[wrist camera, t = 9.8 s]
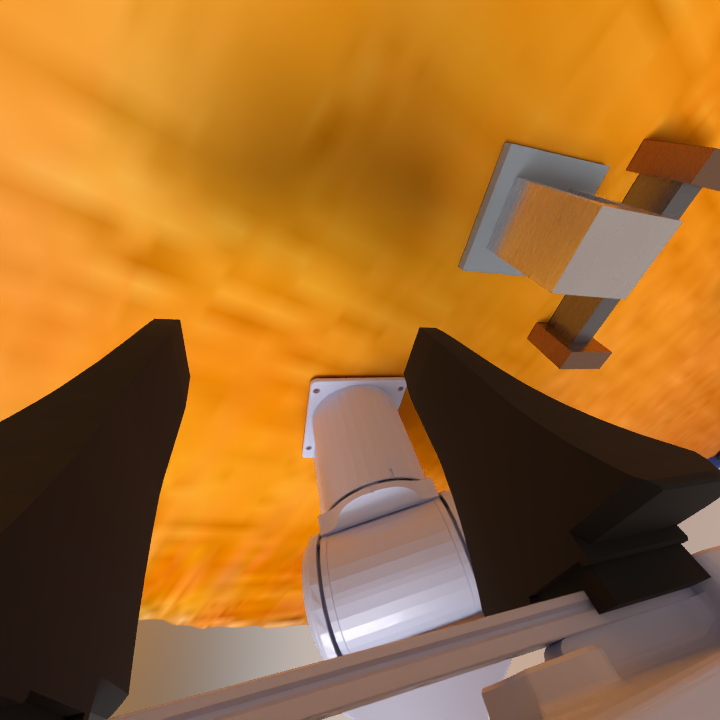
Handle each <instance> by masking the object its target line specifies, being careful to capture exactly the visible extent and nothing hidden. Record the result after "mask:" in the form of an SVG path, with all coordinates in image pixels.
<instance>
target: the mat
mask: <svg viewBox="0 0 720 720" xmlns="http://www.w3.org/2000/svg"><path fill="white" fill-rule="evenodd" d="M609 168H610V166H606V165H602V164H598V163H593V162H589V161H585V160H580V159H576V158H572V157H568V156H563V155H559V154H555V153H551V152H546V151H542V150H538V149H534V148H529V147H525V146H521V145H517V144H512V143H507V142H505V144H504V146H503V149H502V152H501V154H500V157H499V160H498V162H497V165H496V168H495V170H494V173H493V176H492V178H491V181H490V184H489V186H488V189H487V192H486V194H485V197H484V200H483V202H482V205H481V208H480V210H479V213H478V216H477V218H476V221H475V224H474V226H473V229H472V232H471V234H470V237H469V240H468V242H467V245H466V248H465V251H464V253H463V256H462V259H461V261H460V264H459V268H461V269H462V270H464V271H475V272H486V273H496V274H507V275H518V276H525V275H524V274H523V273H521V272H520V271H518V270H517V269H515V268H514V267H512V266H511V265H510V264H508V263H507V262H505V261H504V260H502V259H501V258H499V257H498V256H497V255H495V254H494V253H492V252H491V251H489V250H488V249H486V245H487V243H488V241H489V238H490V236H491V233H492V231H493V229H494V226H495V224H496V221H497V219H498V217H499V214H500V212H501V209H502V207H503V205H504V202H505V200H506V197H507V195H508V193H509V190H510V188H511V185H512V183H513V181H514V178H515V177H518V178H523V179H527V180H531V181H534V182H538V183H541V184H544V185H547V186H550V187H553V188H556V189H559V190H562V191H565V192H569V190H570V188H571V189H575V190H580V191H584V192H588V193H591V194H595V193H596V191H597V189H598V187H599V185H600V184H601V182H602V180H603V178H604V176H605V175H606V173H607V171H608V169H609Z"/></svg>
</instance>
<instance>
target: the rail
mask: <svg viewBox="0 0 720 720" xmlns="http://www.w3.org/2000/svg"><path fill="white" fill-rule="evenodd" d="M626 171H631V172H635V173H639V176H638V178H637V179H636V181H635V183H634V184H633V186H632V187H631V189H630V191H629V192H628V194H627V196H626V197H625V199H624V201H623V202H622V203H624V204H627V205H631V206H634V207H637V208H641V209H644V210H647V211H650V212H654V213H657V214H660V215H664V216H667V217H670V218H674V219H677V220H679V218H680V217H681V216H682V214H683V213H684V211H685V210H686V209H687V207H688V206H689V205H690V203H691V202H692V201H693V199H694V198H695V196H696V195H697V194H698V192H699V191H700V190H701V188H707V189H711V190H716V191H720V149H717V148H711V147H702V146H694V145H685V144H677V143H669V142H660V141H652V140H644V141H643V143H642V144H641V146H640V148H639V149H638V151H637V153H636V154H635V156H634V158H633V160H632V161H631V163H630V165H629V166H628V168H627V170H626ZM619 301H620V299H613V298H601V297H589V296H577V295H565V297H564V298H563V300H562V302H561V303H560V305H559V307H558V308H557V310H556V312H555V313H554V315H553V316H552V318H551V320H550V321H549V323H536V325H535V327H534V328H533V330H532V332H531V333H530V335H529V337H528V338H527V339H528V340H529V341H530V342H531V343H532V344H533V345H534V346H536V347H537V348H538V349H539V350H540V351H541V352H542V353H543V354H544V355H545V356H546V357H547V358H548V359H550V360H551V361H552V362H553V363H554V364H555V365H556V366H557V367H558V368H559V369H600V367H601V366H602V365H603V364H604V362H605V361H606V360H607V359H608V357H609V356H610V355H611V354H612V352H611V351H610V350H608V349H607V348H606V347H604V346H603V345H602V344H600V343H599V342H598V341H596V340H595V339H593V336H594V335H595V333H596V332H597V331H598V329H599V328H600V327H601V325H602V324H603V323H604V321H605V320H606V318H607V317H608V316H609V314H610V313H611V312H612V310H613V309H614V307H615V306H616V305H617V303H618V302H619Z"/></svg>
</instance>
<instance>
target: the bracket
mask: <svg viewBox="0 0 720 720" xmlns="http://www.w3.org/2000/svg"><path fill="white" fill-rule="evenodd" d="M682 222H683V221H680V220H677V219H674V218H670V217H667V216H664V215H660V214H657V213H654V212H650V211H647V210H644V209H641V208H637V207H634V206H631V205H627V204H624V203H621V202H617V201H614V200H611V199H608V198H604V197H601V196H598V195H594V194H591V193H588V192H584V191H580V190H575V189H571V188H570V190H569V192H565V191H562V190H559V189H556V188H553V187H550V186H547V185H544V184H541V183H538V182H534V181H531V180H527V179H523V178H518V177H515V178H514V181H513V183H512V185H511V188H510V190H509V193H508V195H507V197H506V200H505V202H504V205H503V207H502V209H501V212H500V214H499V217H498V219H497V221H496V224H495V226H494V229H493V231H492V233H491V236H490V238H489V241H488V243H487V245H486V249H488V250H489V251H491V252H492V253H494V254H495V255H497V256H498V257H499V258H501V259H502V260H504V261H505V262H507V263H508V264H510V265H511V266H512V267H514V268H515V269H517V270H518V271H520V272H521V273H523V274H524V275H525V276H527V277H528V278H530V279H531V280H533V281H534V282H536V283H537V284H538V285H540V286H541V287H543V288H544V289H546V290H547V291H549V292H550V293H554V294H565V295H577V296H589V297H601V298H613V299H626V298H627V296H628V295H629V294H630V292H631V291H632V290H633V288H634V287H635V285H636V284H637V283H638V281H639V280H640V279H641V277H642V276H643V275H644V273H645V272H646V271H647V269H648V268H649V267H650V265H651V264H652V263H653V261H654V260H655V259H656V257H657V256H658V255H659V253H660V252H661V251H662V249H663V248H664V247H665V245H666V244H667V243H668V241H669V240H670V238H671V237H672V236H673V234H674V233H675V232H676V230H677V229H678V228H679V226H680V225H681V224H682Z"/></svg>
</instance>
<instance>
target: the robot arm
mask: <svg viewBox="0 0 720 720" xmlns="http://www.w3.org/2000/svg"><path fill="white" fill-rule="evenodd" d="M404 377H405V378H404ZM404 377H380V378H317V379H313V380H312V381H311V383H310V389H309V398H308V406H307V415H306V423H305V432H304V440H303V449H302V455H303V457H304V458H313V457H314V463H315V471H316V478H317V485H318V492H319V500H320V507H321V513H322V514H321V515H319V516H318V519H319V527H320V533H318V534H315V535H313V536H312V537H311V538H310V540H309V542H308V546H307V548H306V550H305V552H304V555H303V561H302V586H303V596H304V603H305V609H306V615H307V619H308V623H309V627H310V631H311V634H312V637H313V640H314V643H315V645H316V647H317V649H318V651H319V652H320V654H321V656H322V659H323V661H321V662H317V663H313V664H309V665H306V666H302V667H298V668H295V669H291V670H287V671H284V672H280V673H276V674H273V675H269V676H265V677H262V678H258V679H254V680H250V681H247V682H243V683H239V684H236V685H232V686H228V687H225V688H221V689H217V690H213V691H210V692H206V693H202V694H199V695H195V696H191V697H187V698H184V699H180V700H176V701H172V702H169V703H165V704H161V705H158V706H154V707H150V708H146V709H143V710H139V711H136V712H132V713H128V714H124V715H121V716H117V717H113V718H109V717H110V716H111V715H112V714H113V713H114V712H115V711H116V710H117V708H118V707H119V706H120V705H121V704H122V703H123V701H124V700H125V699H126V697H127V696H128V694H129V686H130V678H131V670H132V662H133V655H134V647H135V640H136V632H137V625H138V618H139V611H140V605H141V598H142V592H143V585H144V579H145V572H146V566H147V561H148V555H149V549H150V543H151V537H152V532H153V526H154V521H155V516H156V511H157V505H158V500H159V495H160V491H161V487H162V483H163V479H164V476H165V473H166V469H167V466H168V463H169V460H170V456H171V453H172V450H173V447H174V443H175V440H176V437H177V434H178V430H179V427H180V424H181V420H182V417H183V414H184V410H185V407H186V401H187V394H188V388H189V381H190V373H189V368H188V362H187V357H186V351H185V345H184V340H183V334H182V328H181V323H180V320H173V319H154V320H152V321H151V322H149V323H148V324H147V325H145V326H144V327H143V328H142V329H140V330H139V331H138V332H136V333H135V334H134V335H133V336H131V337H130V338H129V339H128V340H126V341H125V342H124V343H122V344H121V345H120V346H118V347H117V348H116V349H114V350H113V351H112V352H110V353H109V354H108V355H106V356H105V357H104V358H102V359H101V360H100V361H98V362H97V363H95V364H94V365H92V366H91V367H89V368H88V369H86V370H85V371H83V372H82V373H81V374H79V375H78V376H76V377H75V378H73V379H72V380H70V381H69V382H67V383H66V384H64V385H63V386H61V387H60V388H58V389H57V390H55V391H53V392H52V393H50V394H48V395H47V396H45V397H43V398H42V399H40V400H38V401H37V402H35V403H33V404H32V405H30V406H28V407H26V408H24V409H23V410H21V411H19V412H17V413H16V414H14V415H12V416H10V417H9V418H7V419H5V420H3V421H1V422H0V720H322V719H325V718H328V717H331V716H334V715H337V714H340V713H342V714H344V715H345V716H347V717H348V718H350V719H351V720H488V716H489V717H490V720H720V546H717V547H713V548H709V549H706V550H702V551H700V552H697V553H694V554H692V555H691V554H690V553H689V552H688V551H687V550H686V549H685V548H684V547H683V546H682V545H681V543H684V542H686V541H688V537H687V535H686V534H685V533H684V532H683V531H682V530H681V529H680V528H679V527H678V526H677V524H679V523H681V522H682V521H684V520H686V519H687V518H689V517H690V516H692V515H693V514H695V513H696V512H698V511H700V510H701V509H703V508H705V507H706V506H708V505H709V504H711V503H712V502H713V501H715V500H717V499H718V498H719V497H720V469H718V468H717V467H716V466H715V465H714V464H712V463H711V462H710V461H709V460H707V459H706V458H704V457H703V456H701V455H699V454H698V453H696V452H694V451H691V450H688V449H685V448H682V447H678V446H675V445H672V444H669V443H666V442H662V441H659V440H656V439H653V438H650V437H647V436H643V435H641V434H638V433H635V432H632V431H629V430H627V429H624V428H621V427H618V426H616V425H613V424H610V423H608V422H605V421H603V420H600V419H598V418H595V417H593V416H590V415H588V414H586V413H584V412H581V411H579V410H577V409H574V408H572V407H570V406H568V405H565V404H563V403H561V402H559V401H557V400H555V399H553V398H551V397H549V396H547V395H545V394H543V393H541V392H539V391H537V390H535V389H533V388H532V387H530V386H528V385H526V384H524V383H523V382H521V381H519V380H517V379H516V378H514V377H512V376H511V375H509V374H507V373H506V372H504V371H502V370H501V369H499V368H498V367H496V366H495V365H493V364H491V363H490V362H488V361H487V360H485V359H484V358H482V357H481V356H479V355H478V354H476V353H475V352H473V351H472V350H470V349H469V348H467V347H466V346H464V345H463V344H461V343H460V342H458V341H457V340H455V339H454V338H452V337H451V336H449V335H447V334H446V333H444V332H442V331H441V330H439V329H437V328H419V331H418V334H417V336H416V339H415V342H414V345H413V348H412V351H411V354H410V357H409V360H408V363H407V366H406V368H405V371H404ZM399 387H400V388H399ZM406 387H407V388H408V391H409V394H410V397H411V400H412V402H413V404H414V406H415V409H416V411H417V413H418V415H419V417H420V419H421V422H422V424H423V426H424V428H425V430H426V432H427V434H428V436H429V438H430V440H431V443H432V445H433V447H434V449H435V451H436V453H437V455H438V458H439V460H440V463H441V465H442V468H443V471H444V473H445V476H446V479H447V482H448V485H449V488H450V491H451V492H450V491H448V490H445V491H442V492H439V493H438V492H437V490H436V488H435V485H434V483H433V481H432V479H431V478H428V479H426V477H425V475H424V472H423V470H422V467H421V465H420V463H419V460H418V458H417V456H416V453H415V451H414V449H413V446H412V444H411V441H410V439H409V437H408V434H407V432H406V430H405V427H404V425H403V422H402V420H401V418H400V415H399V413H398V409H399V407H400V404H401V401H402V398H403V395H404V393H405V390H406ZM314 389H318V390H314ZM545 647H547V648H546V649H545V653H544V658H545V662H544V663H541V664H538V665H536V666H533V667H531V668H528V669H525V670H523V671H521V672H519V673H517V674H516V675H513V676H511V677H509V678H507V679H504V677H505V675H506V673H507V670H508V668H509V666H510V663H511V661H512V658H514V657H517V656H520V655H524V654H526V653H530V652H533V651H536V650H539V649H542V648H545ZM503 679H504V680H503ZM108 718H109V719H108Z"/></svg>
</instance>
